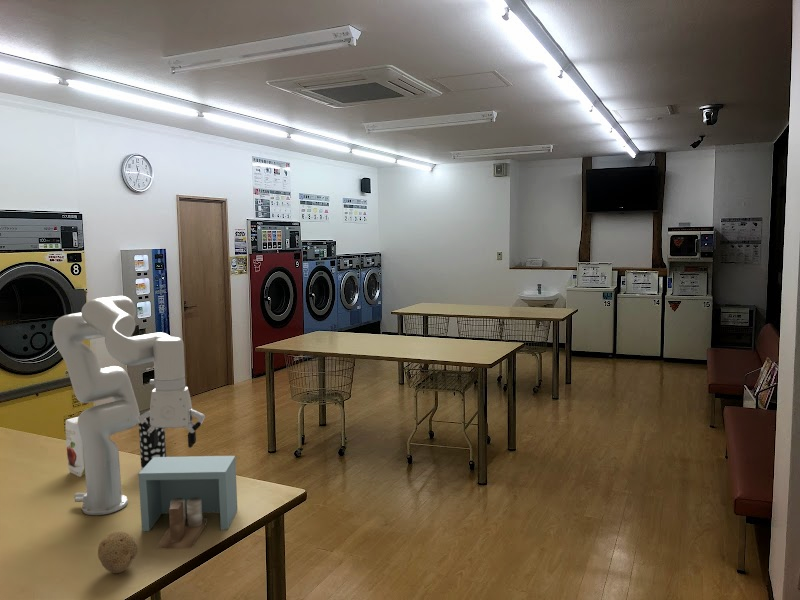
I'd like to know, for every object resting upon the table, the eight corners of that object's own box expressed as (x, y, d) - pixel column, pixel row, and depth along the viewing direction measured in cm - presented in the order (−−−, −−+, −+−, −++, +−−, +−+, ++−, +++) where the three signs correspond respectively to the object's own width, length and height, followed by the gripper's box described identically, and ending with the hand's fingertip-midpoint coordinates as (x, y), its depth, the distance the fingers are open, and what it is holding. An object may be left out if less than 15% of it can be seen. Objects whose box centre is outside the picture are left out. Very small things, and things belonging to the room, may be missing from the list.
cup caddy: (157, 549, 167) (155, 510, 166) (175, 523, 181) (173, 487, 179) (192, 548, 167) (190, 509, 166) (206, 523, 181) (205, 486, 180)
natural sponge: (117, 558, 162) (115, 522, 161) (146, 563, 159) (144, 526, 158) (91, 577, 153) (88, 539, 152) (121, 583, 151) (118, 544, 150)
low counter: (141, 531, 176) (138, 473, 174) (156, 511, 188) (153, 457, 186) (227, 529, 177) (225, 471, 175) (237, 509, 189) (235, 455, 187)
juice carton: (87, 465, 223) (83, 414, 221) (100, 471, 218) (96, 418, 216) (66, 472, 217) (62, 419, 215) (78, 478, 212) (74, 424, 210)
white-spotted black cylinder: (158, 475, 215) (154, 418, 212) (136, 473, 216) (132, 417, 214) (171, 465, 223) (168, 411, 220) (150, 464, 224) (147, 410, 222)
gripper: (131, 387, 161) (135, 451, 164) (199, 387, 162) (201, 450, 164) (142, 380, 169) (145, 441, 171) (207, 379, 169) (209, 440, 172)
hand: (173, 445), depth 168 cm, fingers open, 9 cm apart
